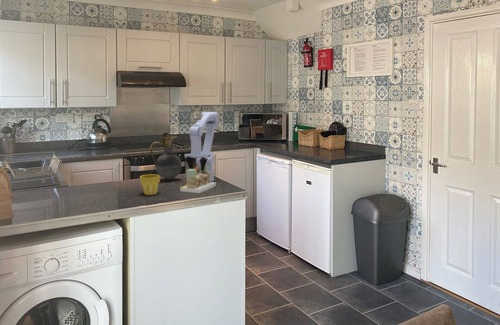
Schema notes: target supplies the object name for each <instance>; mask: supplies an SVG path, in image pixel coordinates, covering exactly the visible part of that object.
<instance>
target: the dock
mask: <svg viewBox="0 0 500 325" xmlns="http://www.w3.org/2000/svg"><path fill="white" fill-rule="evenodd" d="M216 186H217V182H214V181H211V182H210V183H207V184H204V185H203V186H198V188H195V189H192V188H187V184H185V185H183V186H180V187H179V191H180V192H183V193H192V194H201V193H203V192H206V191H208V190H210V189H213V188H214V187H216Z"/></svg>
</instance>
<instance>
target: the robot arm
mask: <svg viewBox="0 0 500 325" xmlns="http://www.w3.org/2000/svg"><path fill="white" fill-rule="evenodd" d="M200 118H201V119H198V120H197V121H196V122H195V124H193V126H190V128H189V132H188V133H189V134H188V135H189V139H190V149H191V150H190V152H191V153H184V158H185V162H186V163H187V166H188V169H193V162H194V159H195V160H196V161H195V162H196V166H197V167H198V169H199V170H200V165H201V171H204V167H205V165H209V172H210V182H214V181H216V179H215V177H214V176H215V174H214V173H215V172H214V171H215V170H214V168H213V166H214V164H215V156H214V154H213V153H212V152H211V151H212V146H213V140H214V135H215V130H216V128H217V127H218V126H219V120H220V116H219V112H218V111H203V112H202V113H201V117H200ZM205 128H206V131H205V136H204V141H203V142H204V143H203V147H202V136H203V133H204V130H205ZM198 173H200V171H198Z"/></svg>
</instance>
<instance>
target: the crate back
mask: <svg viewBox="0 0 500 325" xmlns="http://www.w3.org/2000/svg"><path fill="white" fill-rule="evenodd" d="M199 171H200V172H209V165H205V167H204V171H201V165H200V170H199ZM199 171H198V172H199Z"/></svg>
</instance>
